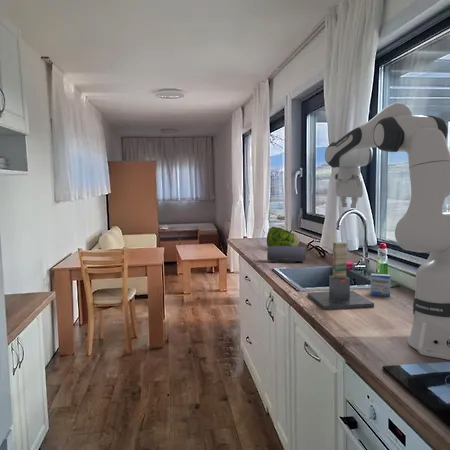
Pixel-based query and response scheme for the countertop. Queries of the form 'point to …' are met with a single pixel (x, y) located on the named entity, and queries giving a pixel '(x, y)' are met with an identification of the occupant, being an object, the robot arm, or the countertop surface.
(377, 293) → the medicine box
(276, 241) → the lettuce
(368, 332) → the countertop surface
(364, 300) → the stand
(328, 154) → the robot arm
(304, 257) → the bluetooth speaker
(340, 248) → the post
